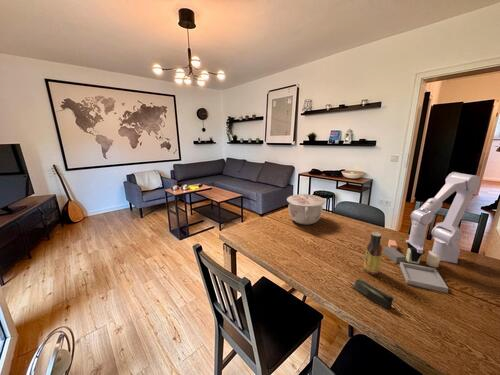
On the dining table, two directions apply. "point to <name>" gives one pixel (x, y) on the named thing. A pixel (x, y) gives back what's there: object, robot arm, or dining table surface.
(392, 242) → the terracotta slim brick
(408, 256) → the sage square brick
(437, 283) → the grey tray
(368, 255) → the sauce bottle
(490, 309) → the dining table surface
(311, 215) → the chamber pot
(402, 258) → the grey rectangular block
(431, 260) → the cream round brick
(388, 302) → the dark grey bar
